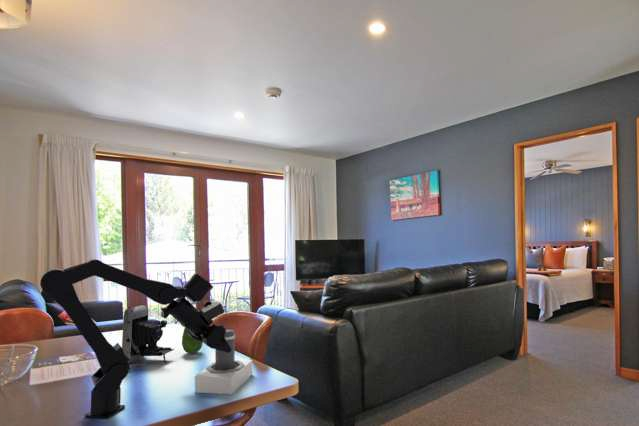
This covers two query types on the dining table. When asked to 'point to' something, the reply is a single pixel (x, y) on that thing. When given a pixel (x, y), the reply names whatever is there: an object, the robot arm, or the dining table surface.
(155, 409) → the dining table surface
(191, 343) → the avocado
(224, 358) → the lens
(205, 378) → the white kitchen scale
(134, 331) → the vintage camera
